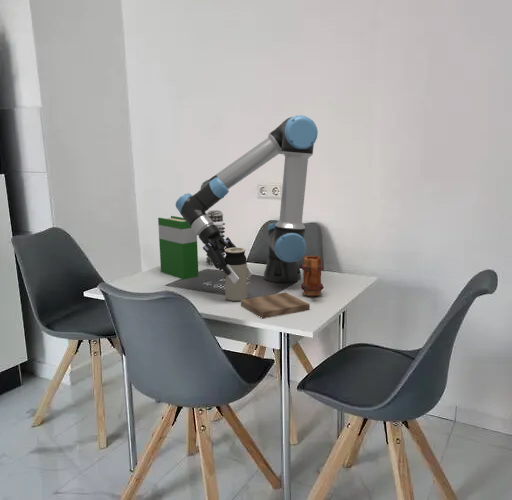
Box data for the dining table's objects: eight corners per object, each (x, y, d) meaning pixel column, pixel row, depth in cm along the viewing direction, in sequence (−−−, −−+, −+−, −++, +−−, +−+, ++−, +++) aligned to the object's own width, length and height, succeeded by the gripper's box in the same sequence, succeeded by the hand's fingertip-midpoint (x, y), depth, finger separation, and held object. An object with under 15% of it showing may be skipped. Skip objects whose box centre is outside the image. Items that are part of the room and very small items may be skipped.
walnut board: (285, 297, 196) (285, 292, 195) (309, 309, 182) (309, 304, 181) (240, 305, 188) (240, 299, 187) (262, 318, 174) (262, 312, 173)
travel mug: (249, 295, 199) (248, 247, 195) (244, 301, 191) (243, 252, 187) (228, 294, 200) (227, 247, 197) (222, 300, 193) (221, 251, 189)
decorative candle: (208, 262, 253) (207, 209, 247) (228, 263, 251) (226, 209, 246) (203, 267, 244) (201, 212, 239) (223, 267, 242) (221, 212, 237)
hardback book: (160, 272, 236) (158, 217, 231) (175, 269, 241) (172, 215, 236) (183, 279, 223) (181, 222, 219) (198, 276, 228) (196, 220, 223)
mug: (300, 291, 204) (300, 252, 200) (322, 291, 203) (322, 252, 200) (302, 303, 189) (302, 261, 186) (325, 303, 189) (326, 261, 186)
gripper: (217, 232, 208) (253, 278, 203) (182, 241, 191) (220, 291, 186) (228, 219, 204) (265, 265, 199) (193, 227, 187) (232, 278, 182)
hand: (243, 278), depth 192 cm, fingers closed on travel mug, 8 cm apart
